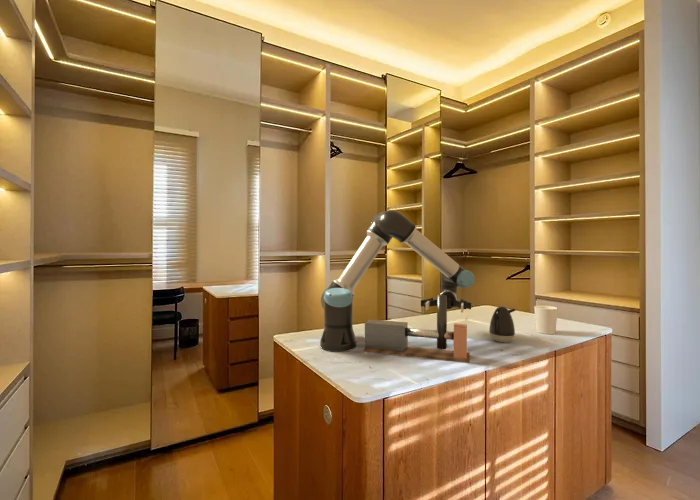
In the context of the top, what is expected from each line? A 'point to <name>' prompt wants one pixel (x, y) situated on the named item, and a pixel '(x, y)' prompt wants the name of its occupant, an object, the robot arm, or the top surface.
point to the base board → (424, 353)
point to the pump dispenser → (502, 325)
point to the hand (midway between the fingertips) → (443, 307)
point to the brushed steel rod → (441, 331)
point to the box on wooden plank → (386, 335)
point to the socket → (460, 340)
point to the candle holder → (545, 319)
